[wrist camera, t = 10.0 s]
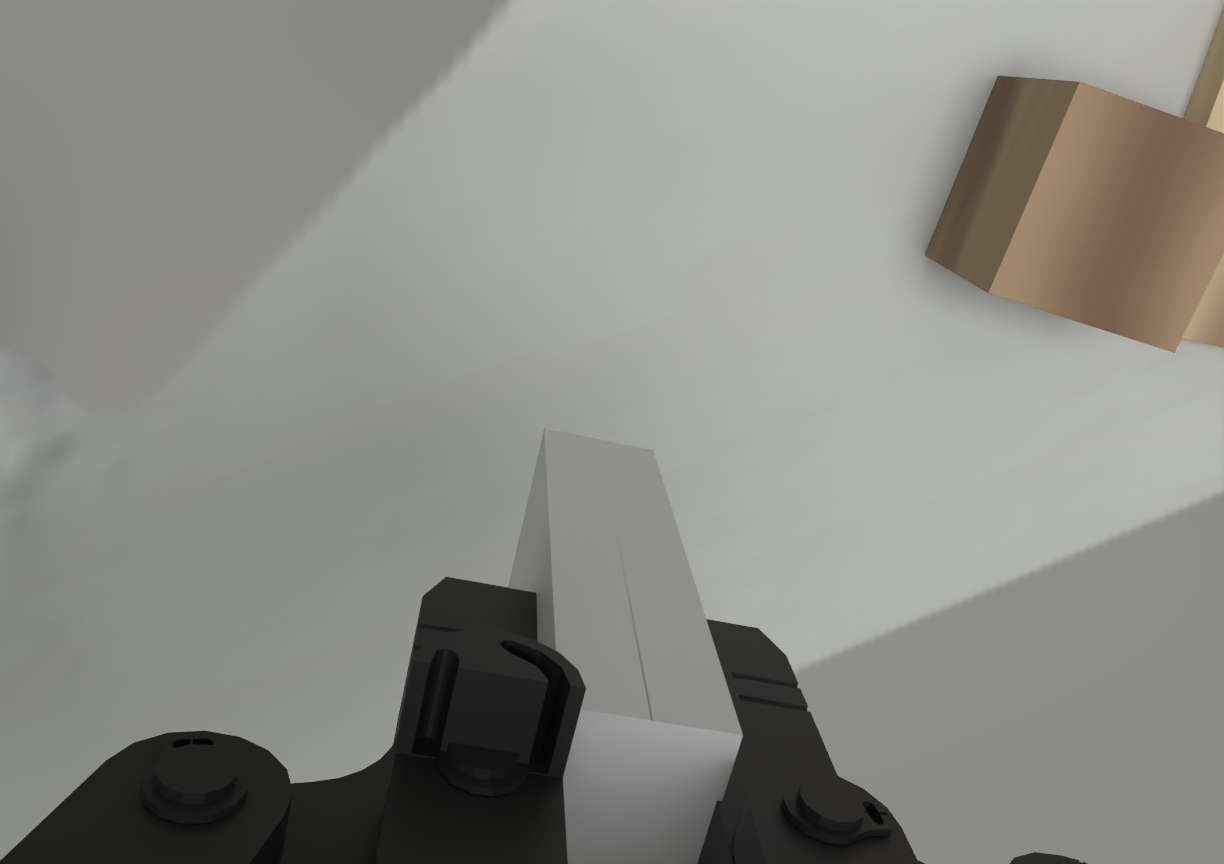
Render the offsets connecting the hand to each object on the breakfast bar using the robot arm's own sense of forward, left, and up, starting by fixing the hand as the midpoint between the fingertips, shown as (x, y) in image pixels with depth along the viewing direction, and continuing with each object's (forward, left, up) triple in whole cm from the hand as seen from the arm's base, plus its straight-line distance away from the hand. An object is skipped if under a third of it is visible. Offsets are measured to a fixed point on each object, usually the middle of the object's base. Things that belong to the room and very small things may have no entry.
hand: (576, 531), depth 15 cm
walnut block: (+15, +6, -23) cm, 28 cm away
